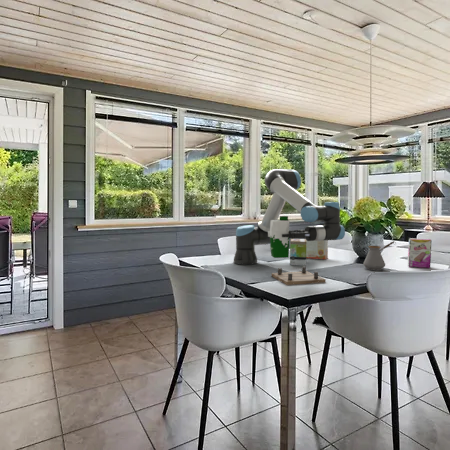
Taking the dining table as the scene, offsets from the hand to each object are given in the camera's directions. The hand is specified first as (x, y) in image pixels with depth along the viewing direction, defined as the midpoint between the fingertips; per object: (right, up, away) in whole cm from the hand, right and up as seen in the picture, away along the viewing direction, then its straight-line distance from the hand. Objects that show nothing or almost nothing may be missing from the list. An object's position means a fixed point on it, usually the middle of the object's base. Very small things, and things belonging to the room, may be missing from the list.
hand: (271, 234), depth 174 cm
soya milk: (+4, -11, +2) cm, 12 cm away
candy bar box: (+89, -20, +31) cm, 97 cm away
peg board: (+13, -22, +4) cm, 26 cm away
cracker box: (+39, -18, +65) cm, 77 cm away
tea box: (+23, -19, +48) cm, 57 cm away
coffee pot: (+66, -20, +29) cm, 75 cm away
